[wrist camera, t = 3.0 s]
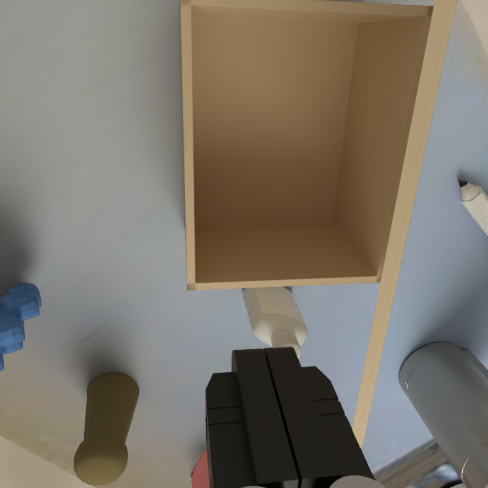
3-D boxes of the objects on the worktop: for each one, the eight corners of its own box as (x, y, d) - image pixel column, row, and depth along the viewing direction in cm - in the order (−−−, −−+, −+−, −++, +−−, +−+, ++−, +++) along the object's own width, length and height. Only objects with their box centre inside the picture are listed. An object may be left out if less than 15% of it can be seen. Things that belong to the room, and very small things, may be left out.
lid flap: (439, 6, 27) (450, 6, 27) (384, 284, 35) (392, 285, 35) (443, -45, 13) (466, -46, 12) (349, 444, 21) (361, 448, 21)
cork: (102, 365, 50) (84, 445, 40) (148, 384, 52) (142, 464, 42) (77, 399, 52) (54, 484, 42) (123, 417, 54) (111, 502, 44)
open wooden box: (363, 16, 38) (437, 6, 27) (335, 226, 46) (382, 282, 36) (179, 7, 36) (180, -8, 25) (185, 229, 44) (187, 290, 33)
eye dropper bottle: (268, 264, 47) (295, 331, 37) (296, 297, 50) (329, 368, 39) (236, 287, 48) (253, 359, 37) (265, 318, 50) (289, 394, 40)
